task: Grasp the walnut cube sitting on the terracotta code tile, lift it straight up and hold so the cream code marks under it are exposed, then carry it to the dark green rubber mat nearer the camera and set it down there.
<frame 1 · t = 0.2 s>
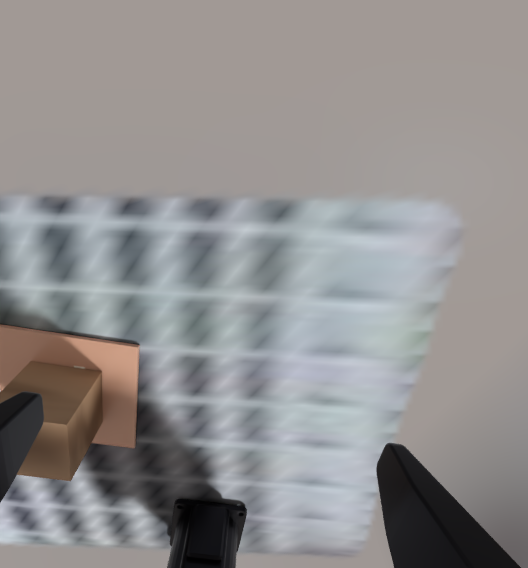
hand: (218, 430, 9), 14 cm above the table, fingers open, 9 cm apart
walnut block: (68, 393, 27), resting on code tile
code tile: (70, 389, 27), on the table
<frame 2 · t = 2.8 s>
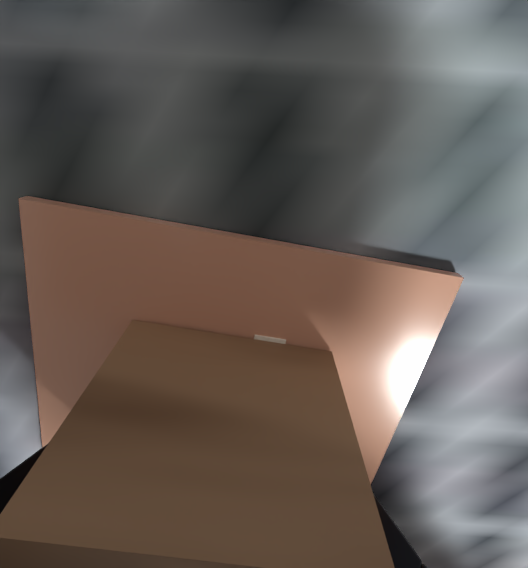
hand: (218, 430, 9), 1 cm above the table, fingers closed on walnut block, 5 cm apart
walnut block: (220, 411, 10), resting on code tile, touching gripper
code tile: (222, 402, 10), on the table
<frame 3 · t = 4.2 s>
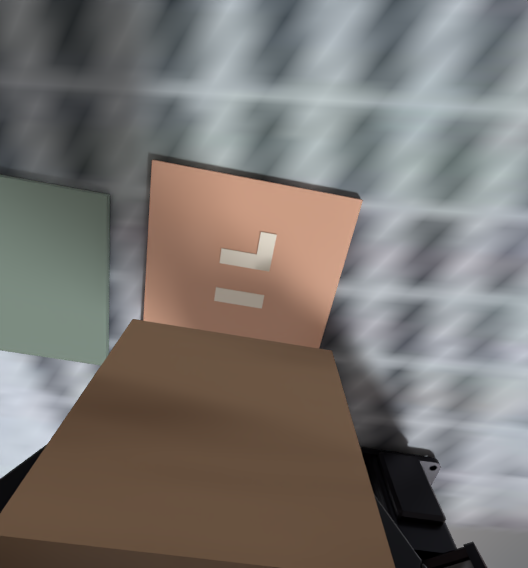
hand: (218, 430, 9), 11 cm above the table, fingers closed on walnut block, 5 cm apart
walnut block: (220, 410, 10), point 10 cm above the table, touching gripper
green mat: (13, 271, 19), on the table
code tile: (243, 275, 19), on the table
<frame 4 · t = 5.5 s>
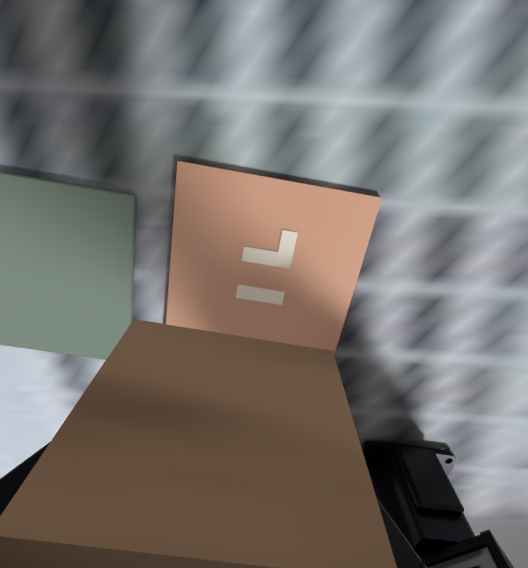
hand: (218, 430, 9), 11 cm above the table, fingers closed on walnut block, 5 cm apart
walnut block: (221, 411, 10), point 10 cm above the table, touching gripper
green mat: (40, 270, 19), on the table
code tile: (263, 272, 19), on the table
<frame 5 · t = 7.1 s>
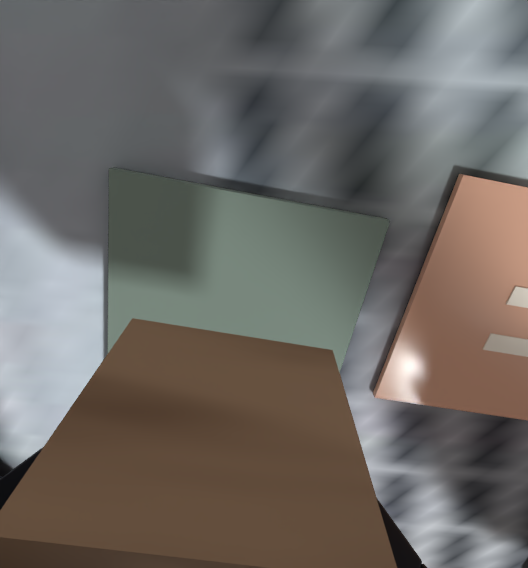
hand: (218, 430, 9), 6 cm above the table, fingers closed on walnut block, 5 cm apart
walnut block: (221, 410, 10), point 6 cm above the table, touching gripper
green mat: (233, 313, 15), on the table
code tile: (523, 318, 15), on the table
when the fingers open (2 cm above the table, at t = 8.2 s): walnut block stays where it is, resting on green mat.
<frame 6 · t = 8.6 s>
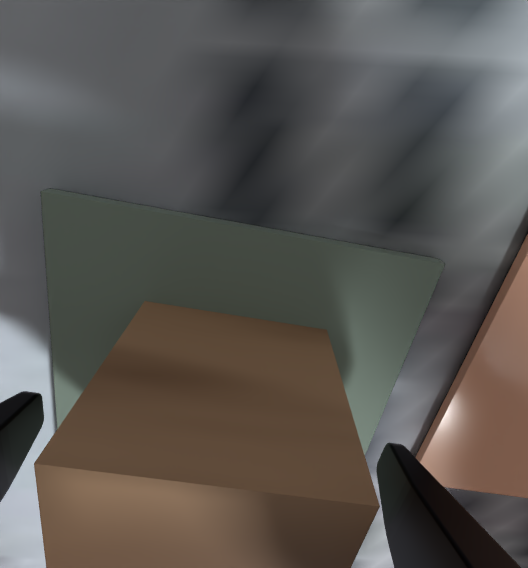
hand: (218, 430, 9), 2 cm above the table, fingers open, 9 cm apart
walnut block: (225, 387, 11), resting on green mat
green mat: (224, 379, 11), on the table
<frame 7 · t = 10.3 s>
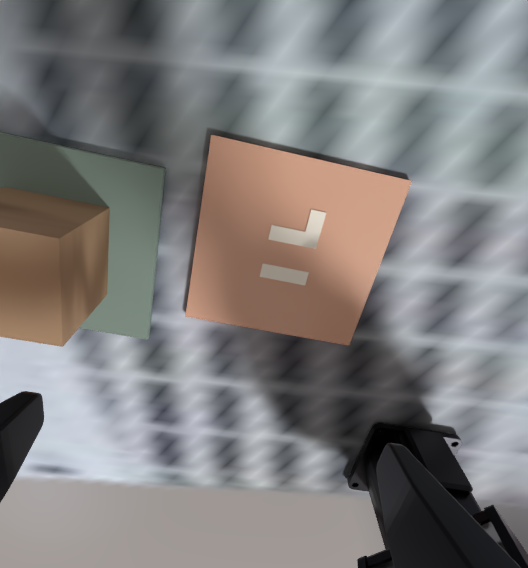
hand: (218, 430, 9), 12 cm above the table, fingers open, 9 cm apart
walnut block: (59, 244, 19), resting on green mat
green mat: (62, 242, 19), on the table
code tile: (288, 252, 19), on the table
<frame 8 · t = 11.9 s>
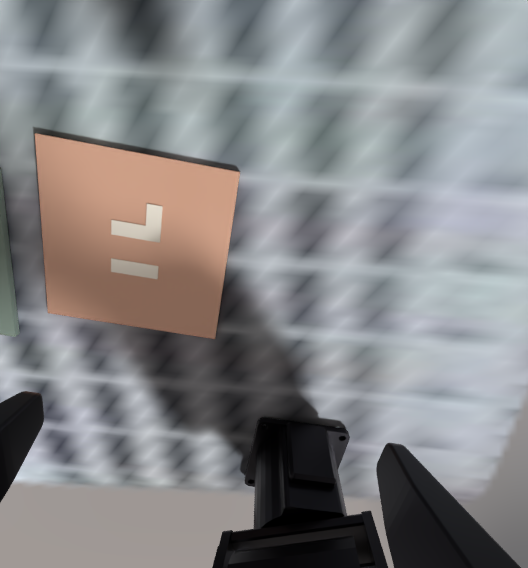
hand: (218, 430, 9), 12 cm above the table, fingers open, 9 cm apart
code tile: (137, 246, 20), on the table
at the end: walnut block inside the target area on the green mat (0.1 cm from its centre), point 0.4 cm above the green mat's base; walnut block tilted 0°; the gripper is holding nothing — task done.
